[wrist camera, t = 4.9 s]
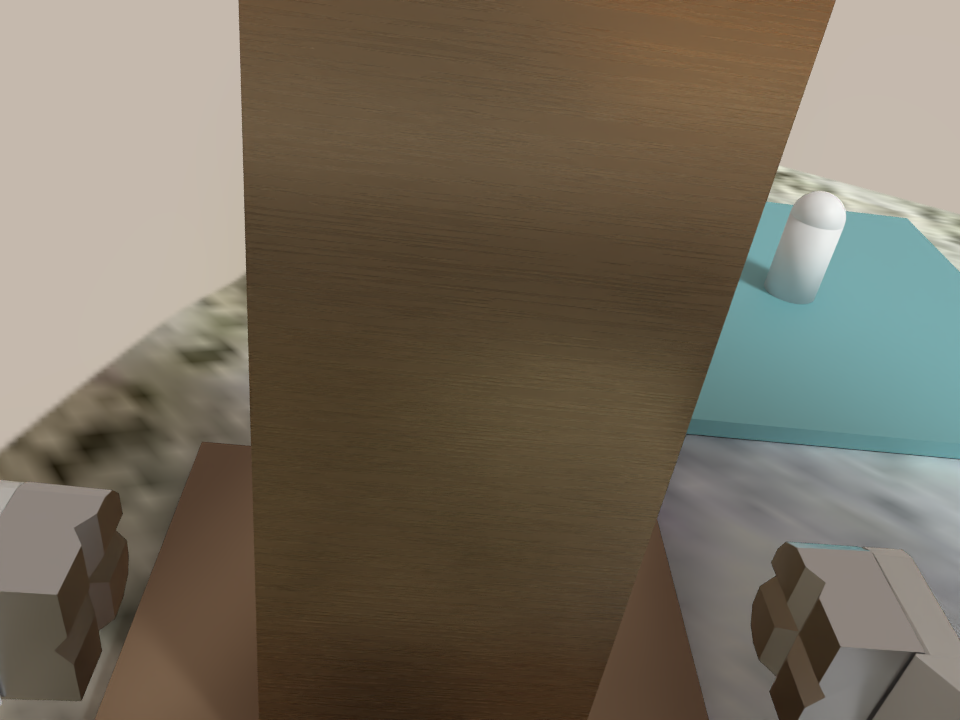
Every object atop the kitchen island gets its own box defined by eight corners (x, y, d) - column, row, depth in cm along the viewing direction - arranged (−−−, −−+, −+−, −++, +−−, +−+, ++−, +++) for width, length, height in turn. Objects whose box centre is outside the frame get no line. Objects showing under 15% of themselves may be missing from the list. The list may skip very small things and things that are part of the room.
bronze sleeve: (540, 560, 21) (700, -85, 13) (563, 788, 16) (834, 1, 8) (306, 541, 20) (322, -140, 12) (260, 772, 16) (236, -84, 8)
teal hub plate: (901, 229, 43) (943, 136, 40) (1135, 475, 28) (1227, 353, 25) (546, 187, 41) (564, 88, 38) (593, 425, 26) (628, 290, 24)
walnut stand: (642, 496, 24) (696, 328, 21) (767, 1010, 14) (908, 837, 11) (202, 458, 23) (190, 276, 20) (5, 985, 13) (-85, 788, 10)
